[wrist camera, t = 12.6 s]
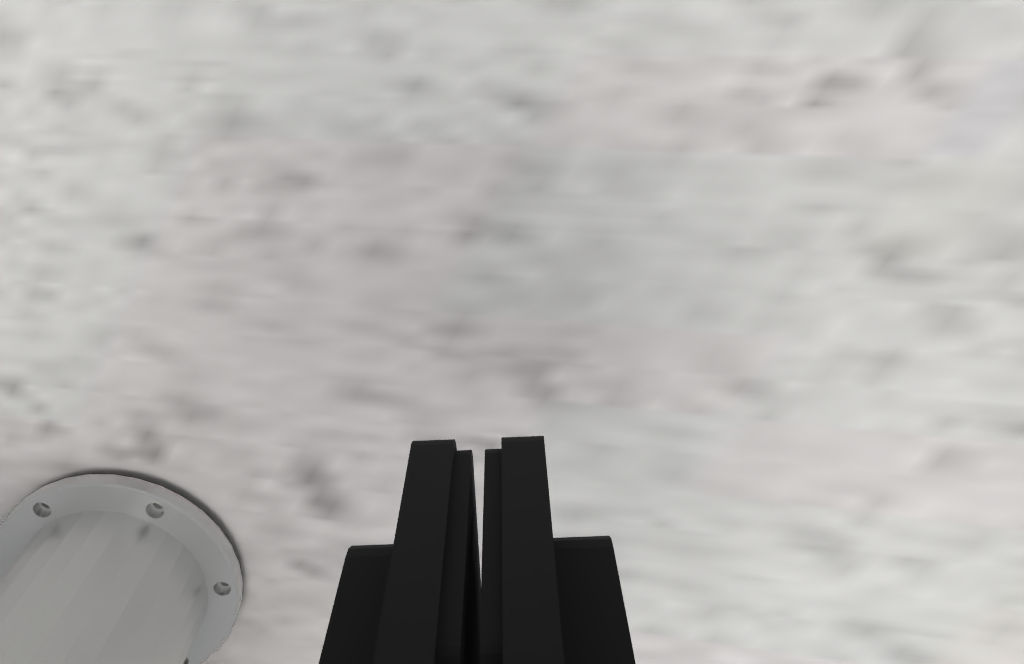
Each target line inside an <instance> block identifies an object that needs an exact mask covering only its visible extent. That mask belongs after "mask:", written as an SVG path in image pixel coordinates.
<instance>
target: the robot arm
mask: <svg viewBox="0 0 1024 664" xmlns="http://www.w3.org/2000/svg"><path fill="white" fill-rule="evenodd" d="M242 588H243V581H242V575H241V570H240V565H239V562H238V559H237V557H236V555H235V552H234V550H233V548H232V545H231V544H230V542H229V541H228V539H227V538H226V536H225V535H224V534H223V532H222V531H221V529H220V528H219V527H218V526H217V525H216V524H215V523H214V522H213V521H212V520H211V519H210V518H209V517H208V516H207V515H206V514H205V513H204V512H203V511H202V510H201V509H199V508H198V507H197V506H195V505H194V504H192V503H191V502H190V501H188V500H187V499H185V498H184V497H182V496H180V495H178V494H176V493H174V492H172V491H170V490H168V489H166V488H164V487H162V486H160V485H157V484H154V483H150V482H147V481H144V480H141V479H138V478H132V477H126V476H120V475H114V474H87V475H81V476H75V477H68V478H64V479H61V480H58V481H56V482H53V483H50V484H47V485H45V486H43V487H41V488H40V489H38V490H36V491H35V492H33V493H31V494H30V495H28V496H27V497H26V498H25V499H24V500H22V501H21V502H20V503H19V504H18V505H17V506H16V507H15V508H14V509H13V510H12V512H11V513H10V514H9V515H8V517H7V518H6V519H5V520H4V522H3V523H2V524H1V525H0V664H200V663H201V662H203V661H204V660H206V659H207V658H208V657H209V656H210V655H212V654H213V653H214V652H215V651H217V650H218V648H219V647H220V646H221V644H222V643H223V642H224V641H225V639H226V638H227V637H228V635H229V633H230V631H231V629H232V627H233V624H234V622H235V620H236V618H237V615H238V611H239V608H240V605H241V601H242ZM319 664H635V659H634V653H633V648H632V643H631V638H630V632H629V627H628V622H627V617H626V611H625V606H624V601H623V596H622V591H621V585H620V580H619V575H618V570H617V564H616V559H615V554H614V549H613V544H612V540H611V538H610V536H593V537H567V538H553V532H552V522H551V511H550V500H549V489H548V478H547V467H546V456H545V445H544V436H531V437H506V438H502V449H486V450H485V472H484V508H483V544H482V580H481V578H480V562H479V546H478V531H477V515H476V499H475V483H474V467H473V454H472V450H461V451H457V448H456V442H455V440H429V441H413V442H412V444H411V449H410V454H409V460H408V466H407V471H406V477H405V483H404V488H403V494H402V500H401V505H400V511H399V517H398V522H397V528H396V534H395V539H394V544H388V545H362V546H351V547H350V548H349V549H348V552H347V555H346V558H345V562H344V566H343V570H342V574H341V578H340V582H339V586H338V589H337V593H336V597H335V601H334V605H333V609H332V613H331V617H330V621H329V625H328V629H327V633H326V637H325V641H324V645H323V649H322V653H321V657H320V661H319Z"/></svg>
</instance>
